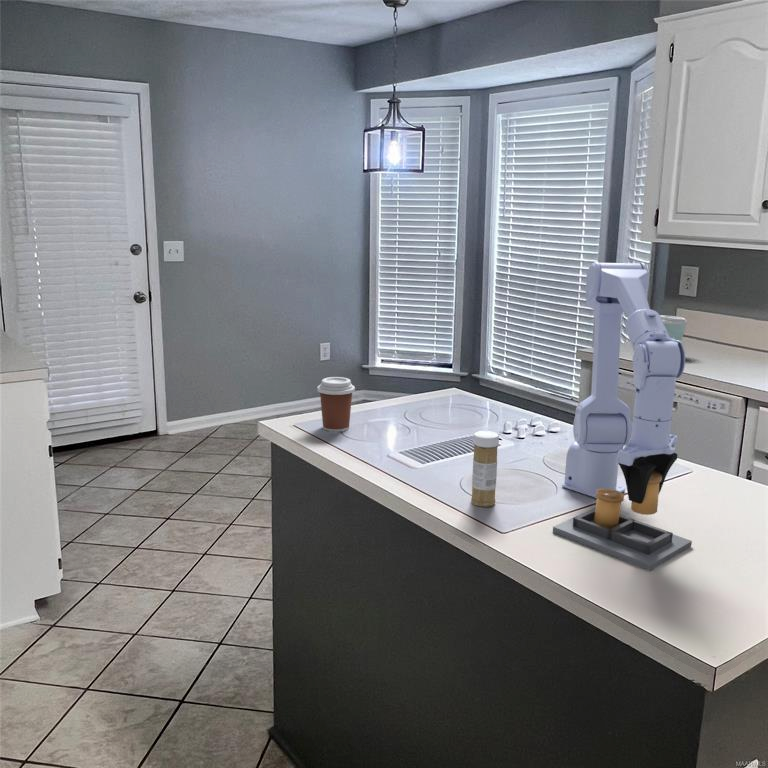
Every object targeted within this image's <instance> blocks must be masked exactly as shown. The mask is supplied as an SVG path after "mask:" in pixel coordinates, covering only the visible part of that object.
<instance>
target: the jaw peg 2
mask: <svg viewBox="0 0 768 768" xmlns="http://www.w3.org/2000/svg"><path fill="white" fill-rule="evenodd" d="M661 481H662V475H661V474H660V473H658V472H656V471H653V472H652V474H651V476H650V479H649V481H648V484H647V489H646V494H645V498H644V500H643V503H641V504H639V503H636V502H633V501H631V506H630V508H631V509H630V510H632V511H633V512H634V513H636V514H638V515H639V514H640V515H646V516H648V515H649V516H650V515H651V516H652V515H655V514H657V512H658V506H659V495H660V493H659V483H660V482H661Z"/></svg>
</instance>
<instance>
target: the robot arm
mask: <svg viewBox="0 0 768 768" xmlns="http://www.w3.org/2000/svg"><path fill="white" fill-rule="evenodd" d="M585 279H586V280H585V305H586V306H587V307H588V308H591V309H592V310H593V316H594V317H593V318H594V327H593V329H594V330H593V346H592V347H593V349H592V350H593V351H592V353H593V354H592V378H591V394H590V396H588V397H587V398H585V399H584V400H582V401H580V403H578V404H577V405H576V408H575V413H574V414H575V416H574V420H573V425H572V426H573V427H572V429H573V430H572V431H573V438H574V441H573V442H572V443H571V444H570V446H569V448H568V450H567V452H566V458H565V459H566V460H565V471H564V472H565V473H564V483H561V487H563V488H565V489H569V490H571V491H575V492H577V493H580V494H583V495H585V496H589V497H592V498H595V499H597V497H596V496H595V494H596V490H598V489H602V488H607V489H613V490H617V491H619V492H621V493H624V492H625V491H627V497H628V500H629V501H630V502H632V501H633V502H636V503H639V504H641V503H643V500H644V498H645V494H646V489H647V484H648V481H649V479H650V476H651V474H652V472H653V471H656V472H658V473H660V474H661V475H662V481H661V482H660V483H659V494H660V493H661V491H662V488H663V485H664V482H665V480H666V477H667V476H668V473H669V472H670V469H671V467H673V464H674V463H675V462H676V461H677V459H678V453H676V448H677V447H678V438H679V437H678V435H675V434H671V430H672V428H671V427H672V421H673V420H672V418H673V410H674V401H675V392H676V383H677V379H679V378H681V376H682V375H683V373H684V371H685V366H686V352H685V348H684V345H683V342H682V341H679V340H675V338H671V337H669V335H668V332H667V330H666V328H665V326H664V324H663V321H662V319H661V317H660V314H659V312H658V311H656V310H653V309H651V307H650V305H649V301H648V298H647V291H648V289H649V286H650V285H649V284H650V271H649V268H648V266H647V265H646V264H645V262H636V263H634V262H599V261H593V262H592V263H591V264H590V265H589V267H588V270H587V273H586V276H585ZM623 313H625V315H626V317H627V319H626V320H625V325H624V328H625V331H626V333H627V336H628V339H629V341H630V344H631V347H632V350H633V354H632V370H633V380H632V381H633V386H634V387H635V392H634V393H635V395H634V402H633V403H634V405H633V415H632V420H631V409H630V407H629V406H628V405H627V404H626V402H623V400H621V398H620V399H619V396H618V395H619V394H618V393H619V377H620V376H619V374H620V372H619V370H620V351H621V350H620V349H621V330H622V329H621V328H622V327H621V326H622V324H621V323H622V314H623ZM619 468H620V469H621V471H622V474H623V476H624V481H625V486H626V488H625V487H622V486H620V485H619V486H618V485H617V484H618V475H619V474H618V472H619Z"/></svg>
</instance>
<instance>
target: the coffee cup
mask: <svg viewBox="0 0 768 768" xmlns="http://www.w3.org/2000/svg"><path fill="white" fill-rule="evenodd" d="M316 390H317V392H318V393H319V395H320V396H319V397H320V408H321V409H320V410H321V418H322V419H321V420H322V429H323V430H324V431H325V432H330V433H331V432H332V433H340V432H345V431H346V432H347V431H348V430H349V429H350V424H351V423H350V421H351V420H350V419H351V410H352V399H353V398H352V397H353V393H354V392H355V391H356V387H355V385H353V384H352V381H351V379H350V378H348V377H343V376H329V377H325V378H323V379H321V382H320V384H319V385H318V386H317V387H316Z"/></svg>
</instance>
